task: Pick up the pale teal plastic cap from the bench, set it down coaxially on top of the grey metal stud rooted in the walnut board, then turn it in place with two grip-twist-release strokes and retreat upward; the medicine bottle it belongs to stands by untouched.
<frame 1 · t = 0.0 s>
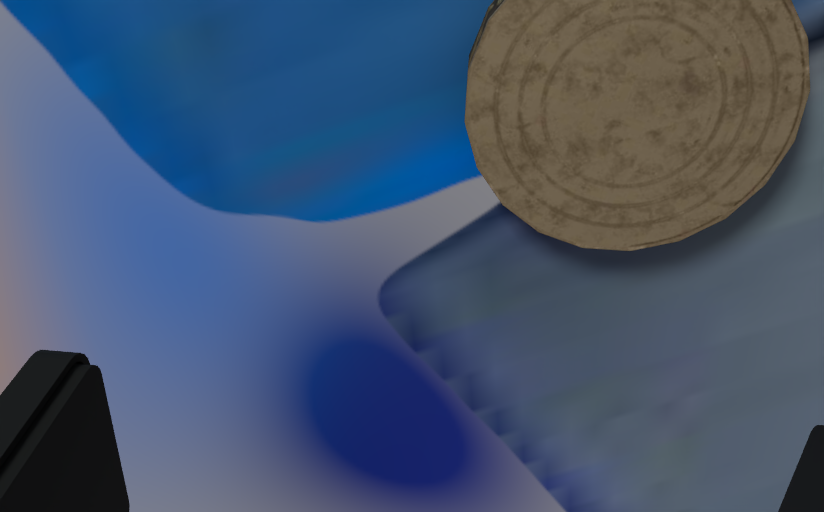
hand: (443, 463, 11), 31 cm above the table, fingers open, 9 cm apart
wood slice: (622, 84, 40), on the table
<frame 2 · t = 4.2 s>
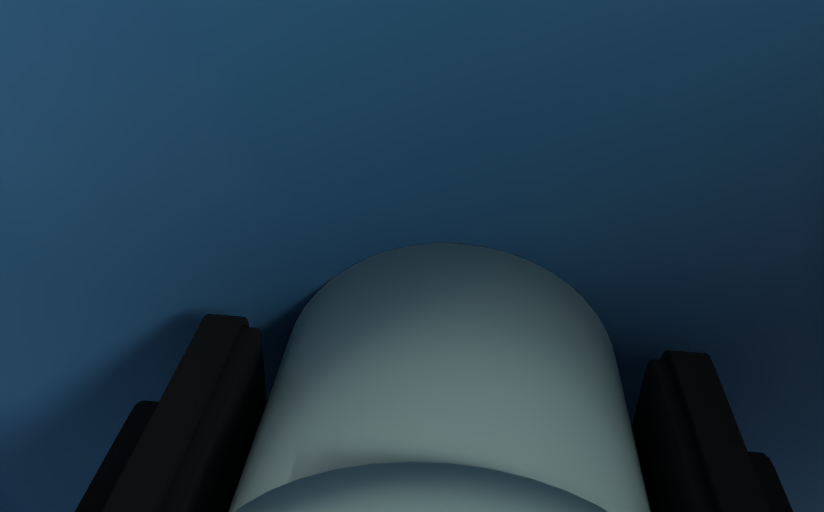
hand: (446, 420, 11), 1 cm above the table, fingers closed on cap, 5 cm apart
cap: (448, 386, 12), on the table, touching gripper
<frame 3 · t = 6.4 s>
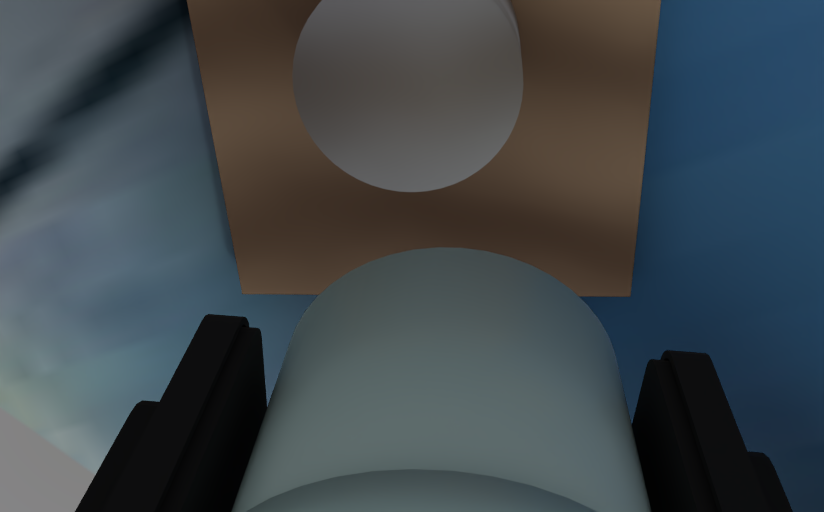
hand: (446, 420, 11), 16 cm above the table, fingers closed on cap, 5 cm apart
cap: (449, 390, 12), point 16 cm above the table, touching gripper
stud board: (422, 35, 25), on the table
when the fingers open (6 cm above the table, at t = 8.7 s): cap stays where it is, resting on stud board.
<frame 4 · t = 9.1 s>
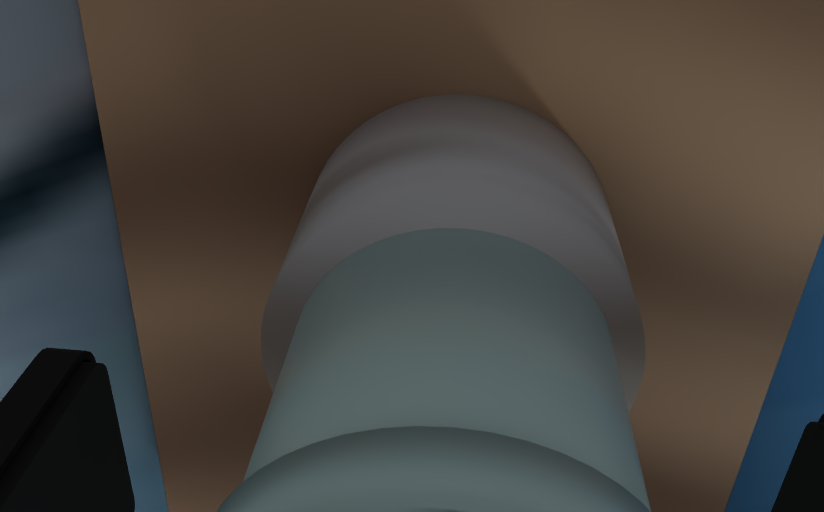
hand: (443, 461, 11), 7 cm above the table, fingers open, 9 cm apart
cap: (451, 366, 12), point 5 cm above the table, touching stud board
stud board: (458, 210, 17), on the table
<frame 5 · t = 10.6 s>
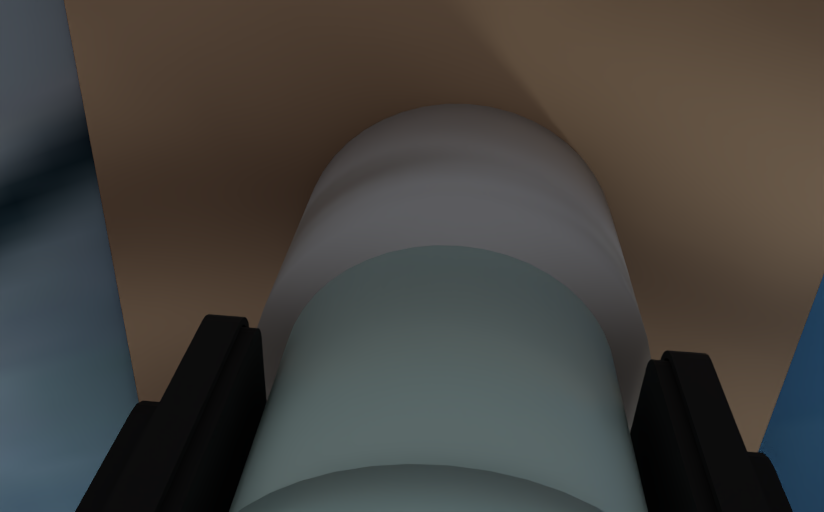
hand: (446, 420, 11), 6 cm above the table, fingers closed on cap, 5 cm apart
cap: (446, 387, 12), point 5 cm above the table, touching gripper, stud board
stud board: (458, 221, 16), on the table
when the fingers open (6 cm above the table, at t = 11.7 s): cap stays where it is, resting on stud board.
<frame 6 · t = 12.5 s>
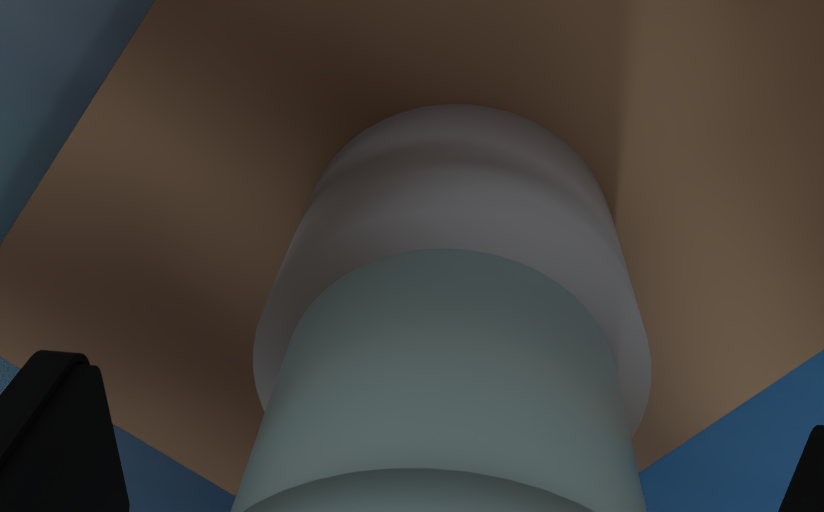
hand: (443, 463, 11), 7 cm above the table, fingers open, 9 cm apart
cap: (447, 389, 12), point 5 cm above the table, touching stud board
stud board: (458, 221, 16), on the table
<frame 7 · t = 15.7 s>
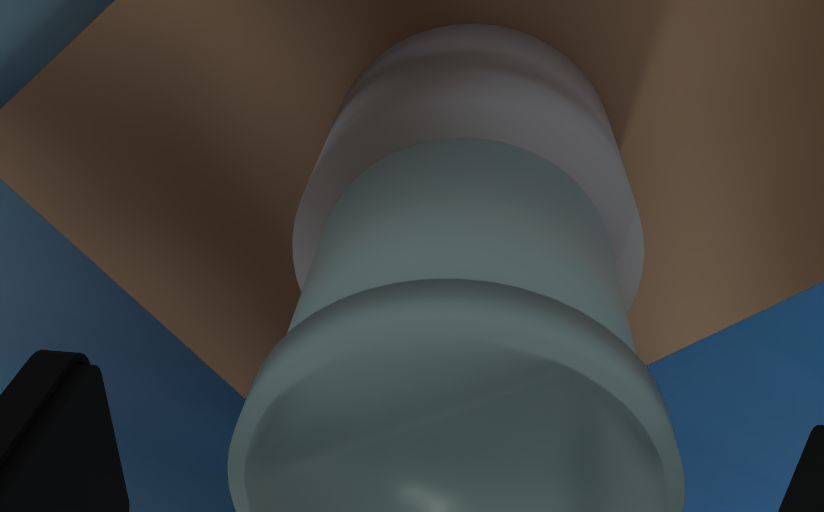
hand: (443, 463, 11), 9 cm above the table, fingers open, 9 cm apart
cap: (463, 271, 14), point 5 cm above the table, touching stud board
stud board: (471, 140, 18), on the table
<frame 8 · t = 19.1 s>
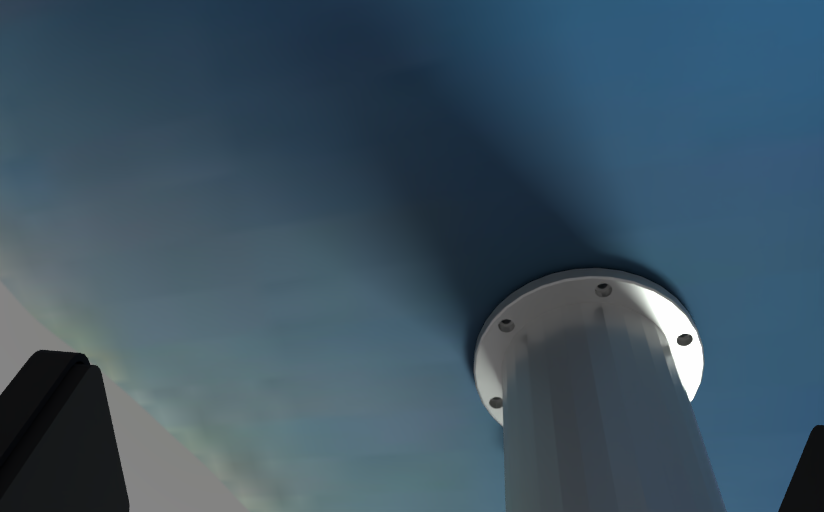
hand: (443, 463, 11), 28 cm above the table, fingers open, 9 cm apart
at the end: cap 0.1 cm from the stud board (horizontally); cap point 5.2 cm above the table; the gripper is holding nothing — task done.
